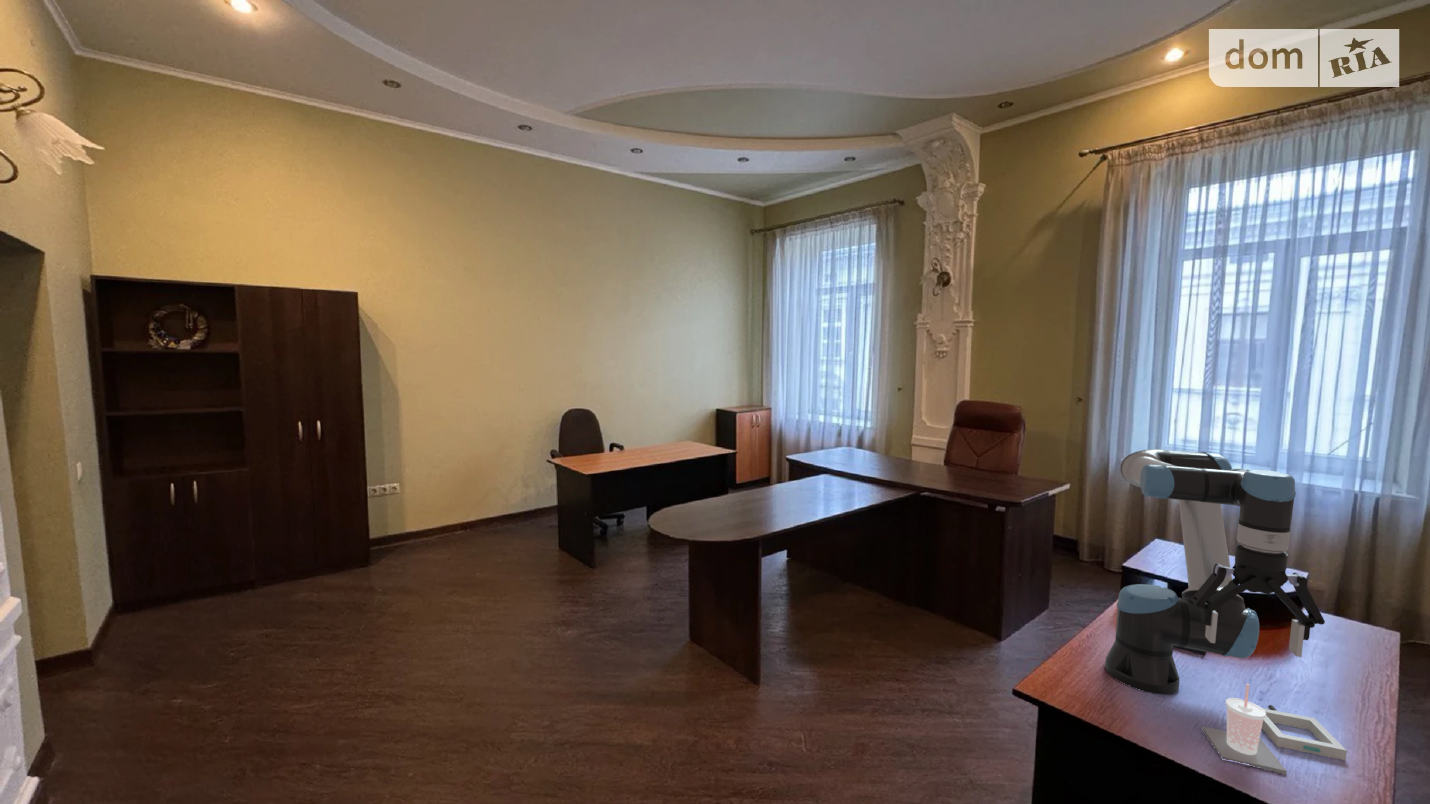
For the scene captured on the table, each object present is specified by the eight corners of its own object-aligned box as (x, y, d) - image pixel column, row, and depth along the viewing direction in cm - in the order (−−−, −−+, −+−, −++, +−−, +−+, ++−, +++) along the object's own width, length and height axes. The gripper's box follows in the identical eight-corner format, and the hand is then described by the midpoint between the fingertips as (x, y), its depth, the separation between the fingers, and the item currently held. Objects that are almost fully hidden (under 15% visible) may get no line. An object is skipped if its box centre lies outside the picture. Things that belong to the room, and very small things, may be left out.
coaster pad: (1222, 760, 114) (1222, 756, 114) (1201, 729, 123) (1201, 726, 123) (1286, 774, 110) (1286, 770, 110) (1260, 741, 119) (1260, 738, 119)
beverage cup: (1268, 761, 113) (1275, 696, 111) (1230, 753, 115) (1236, 689, 113) (1252, 741, 118) (1258, 679, 117) (1216, 734, 120) (1222, 673, 119)
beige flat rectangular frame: (1277, 747, 118) (1278, 737, 117) (1241, 703, 132) (1242, 694, 132) (1346, 761, 114) (1348, 751, 113) (1301, 714, 128) (1302, 705, 128)
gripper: (1192, 545, 114) (1183, 643, 116) (1358, 563, 104) (1345, 669, 107) (1178, 533, 121) (1170, 626, 123) (1332, 549, 111) (1321, 649, 114)
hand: (1251, 646), depth 115 cm, fingers open, 13 cm apart
